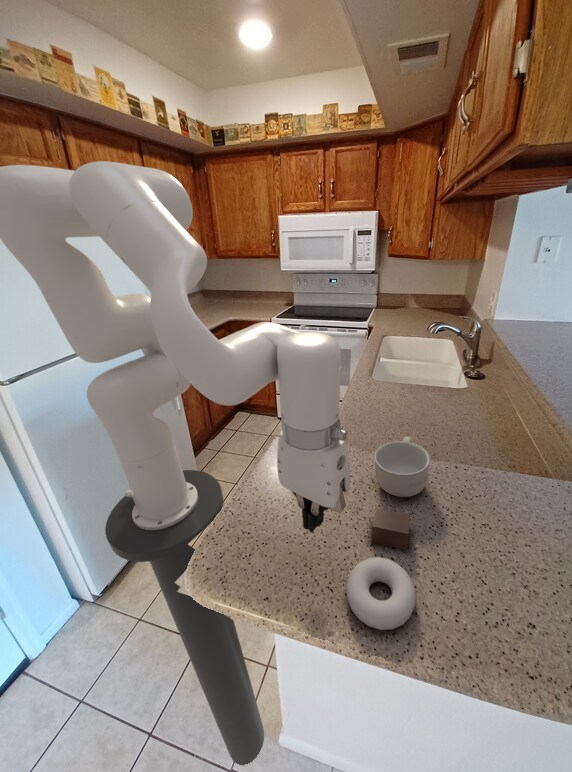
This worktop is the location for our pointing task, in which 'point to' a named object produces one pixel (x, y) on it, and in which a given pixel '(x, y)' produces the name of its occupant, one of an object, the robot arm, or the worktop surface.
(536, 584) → the worktop surface
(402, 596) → the donut
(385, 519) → the block
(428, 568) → the worktop surface
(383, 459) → the teacup
